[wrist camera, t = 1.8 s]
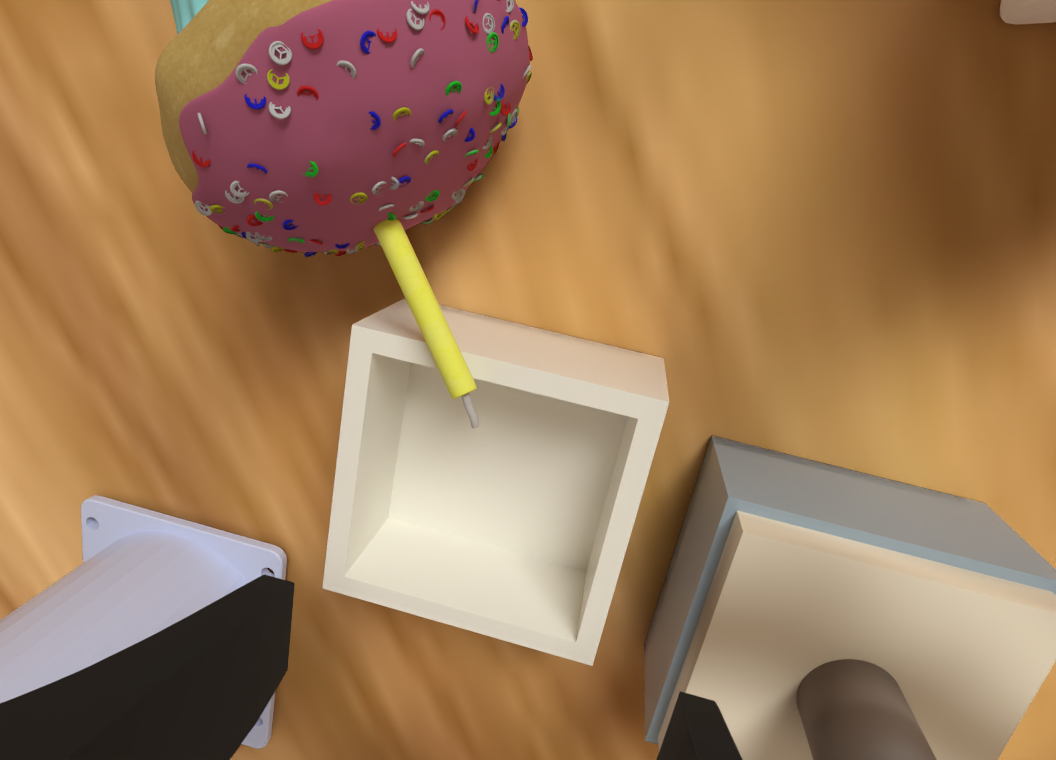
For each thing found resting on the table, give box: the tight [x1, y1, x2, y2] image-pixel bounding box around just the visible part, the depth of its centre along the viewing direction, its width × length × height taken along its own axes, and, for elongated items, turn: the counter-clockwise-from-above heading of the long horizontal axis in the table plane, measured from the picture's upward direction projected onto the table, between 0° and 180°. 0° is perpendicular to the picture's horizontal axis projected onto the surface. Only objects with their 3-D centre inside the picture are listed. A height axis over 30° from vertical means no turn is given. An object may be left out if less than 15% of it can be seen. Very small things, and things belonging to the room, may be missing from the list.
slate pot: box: [644, 435, 1056, 744], centre depth 18 cm, size 8×8×4 cm
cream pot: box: [323, 298, 669, 666], centre depth 19 cm, size 8×8×4 cm
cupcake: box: [155, 0, 533, 428], centre depth 14 cm, size 9×8×12 cm
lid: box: [658, 511, 1056, 760], centre depth 15 cm, size 7×7×4 cm
